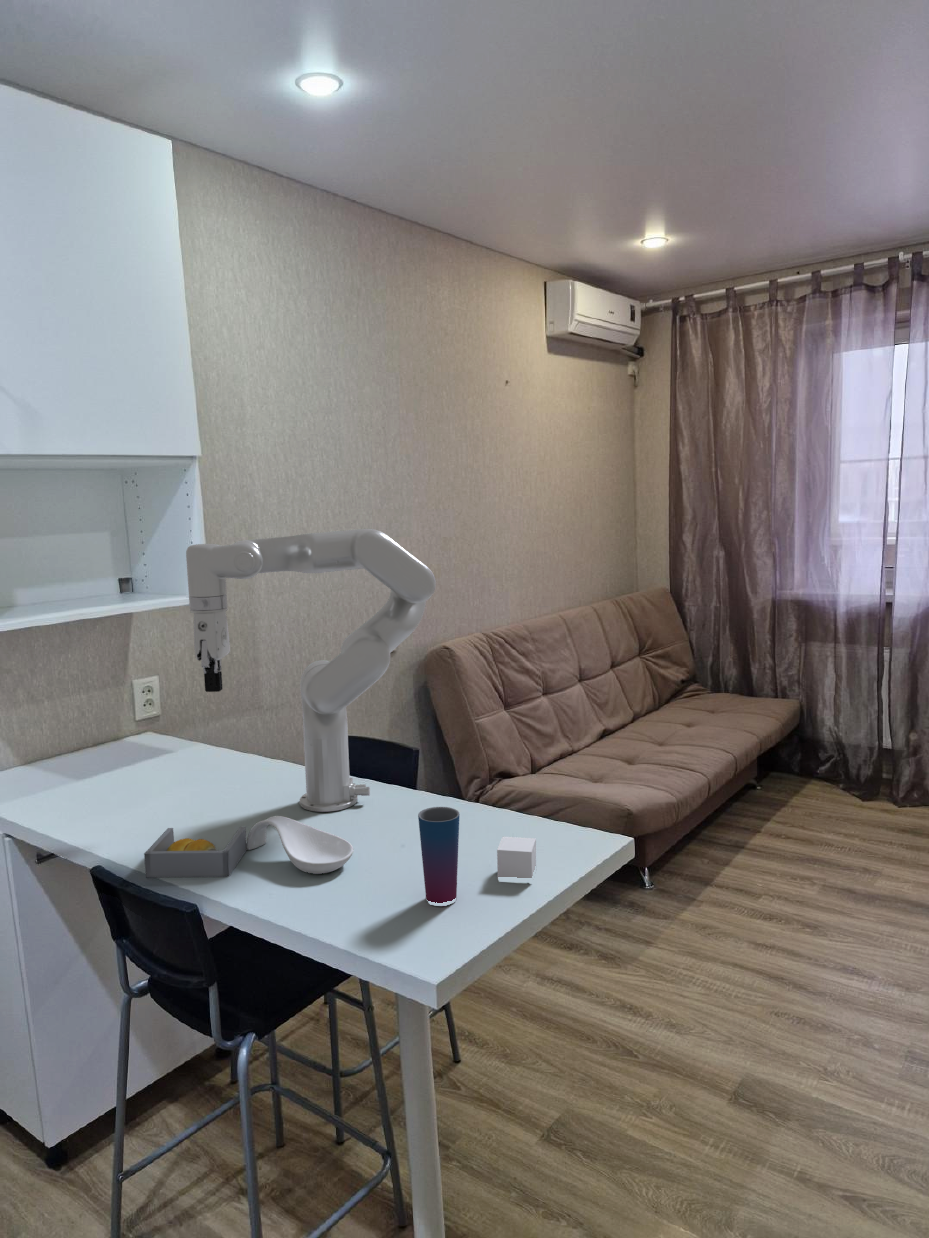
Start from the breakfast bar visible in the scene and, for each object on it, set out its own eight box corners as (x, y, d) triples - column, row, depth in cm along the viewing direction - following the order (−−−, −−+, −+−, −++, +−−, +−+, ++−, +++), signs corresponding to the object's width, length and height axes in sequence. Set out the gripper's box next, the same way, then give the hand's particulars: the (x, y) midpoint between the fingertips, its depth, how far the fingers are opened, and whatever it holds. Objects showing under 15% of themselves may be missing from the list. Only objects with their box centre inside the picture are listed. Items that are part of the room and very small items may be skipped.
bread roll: (182, 849, 170) (181, 830, 169) (222, 854, 167) (221, 834, 167) (155, 867, 162) (154, 846, 162) (197, 872, 159) (196, 851, 159)
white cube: (536, 870, 157) (536, 838, 156) (531, 885, 151) (531, 851, 150) (502, 867, 158) (502, 836, 157) (497, 882, 152) (497, 849, 152)
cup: (461, 890, 150) (458, 805, 147) (462, 908, 143) (460, 820, 141) (421, 891, 149) (418, 807, 147) (420, 910, 143) (417, 822, 140)
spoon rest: (366, 863, 162) (365, 826, 161) (322, 888, 152) (320, 849, 151) (276, 837, 175) (274, 803, 174) (230, 858, 165) (227, 822, 164)
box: (246, 849, 169) (245, 826, 168) (229, 876, 157) (227, 852, 156) (169, 850, 169) (167, 827, 168) (146, 877, 157) (144, 853, 157)
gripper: (216, 608, 173) (221, 699, 176) (236, 599, 188) (241, 682, 191) (178, 609, 174) (184, 699, 176) (201, 599, 188) (206, 683, 191)
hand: (213, 690), depth 184 cm, fingers closed
